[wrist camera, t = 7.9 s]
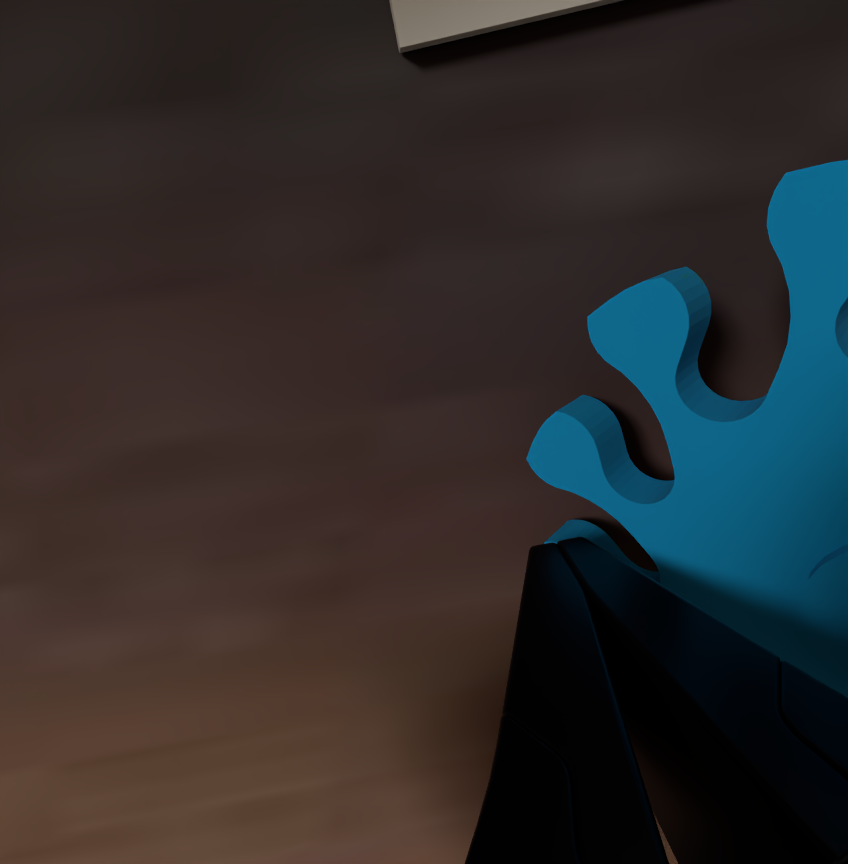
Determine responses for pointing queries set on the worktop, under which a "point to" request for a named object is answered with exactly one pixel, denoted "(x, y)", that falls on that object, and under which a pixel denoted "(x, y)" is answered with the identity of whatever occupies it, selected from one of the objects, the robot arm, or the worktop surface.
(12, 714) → the worktop surface
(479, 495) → the worktop surface
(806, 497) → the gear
